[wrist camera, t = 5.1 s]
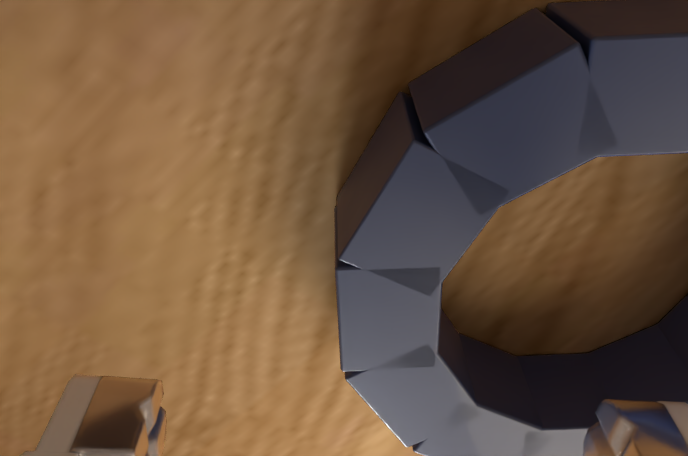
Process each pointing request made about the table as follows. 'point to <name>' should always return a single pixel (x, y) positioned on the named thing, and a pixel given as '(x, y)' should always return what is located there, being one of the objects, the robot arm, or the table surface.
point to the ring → (477, 209)
